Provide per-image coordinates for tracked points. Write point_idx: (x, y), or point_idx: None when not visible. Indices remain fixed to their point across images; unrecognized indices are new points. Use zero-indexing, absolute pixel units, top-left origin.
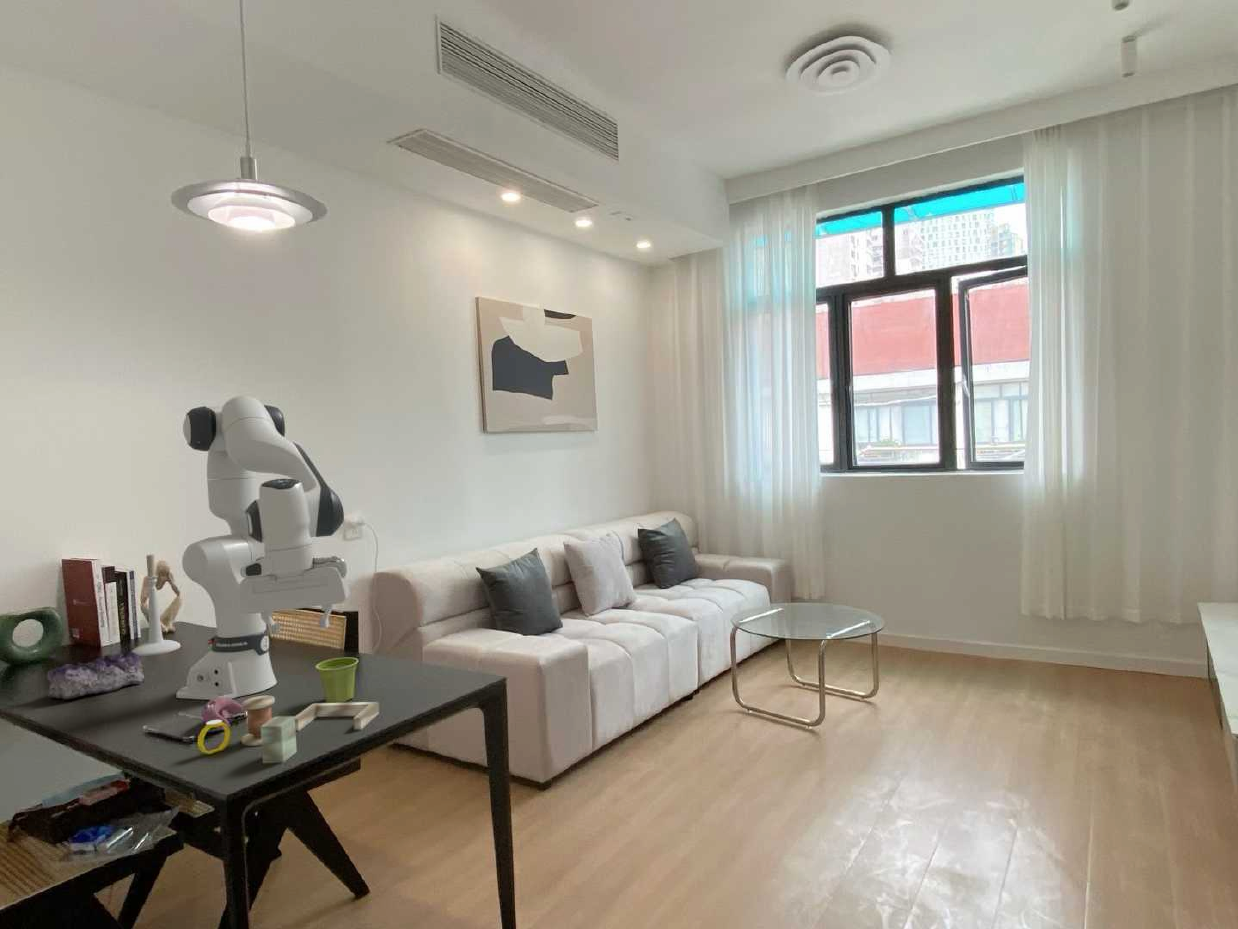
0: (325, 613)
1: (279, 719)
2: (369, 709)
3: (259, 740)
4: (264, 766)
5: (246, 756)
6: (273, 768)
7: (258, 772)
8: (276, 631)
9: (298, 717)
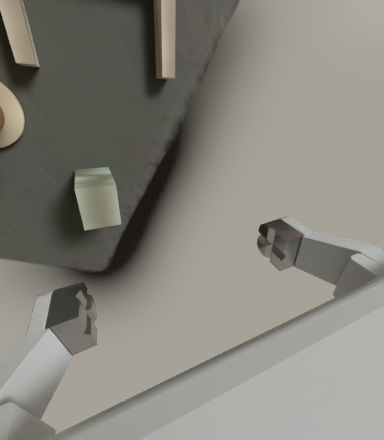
0: (329, 278)
1: (96, 200)
2: (174, 22)
3: (6, 141)
4: None
5: (31, 187)
6: None
7: None
8: (94, 316)
9: (26, 50)
